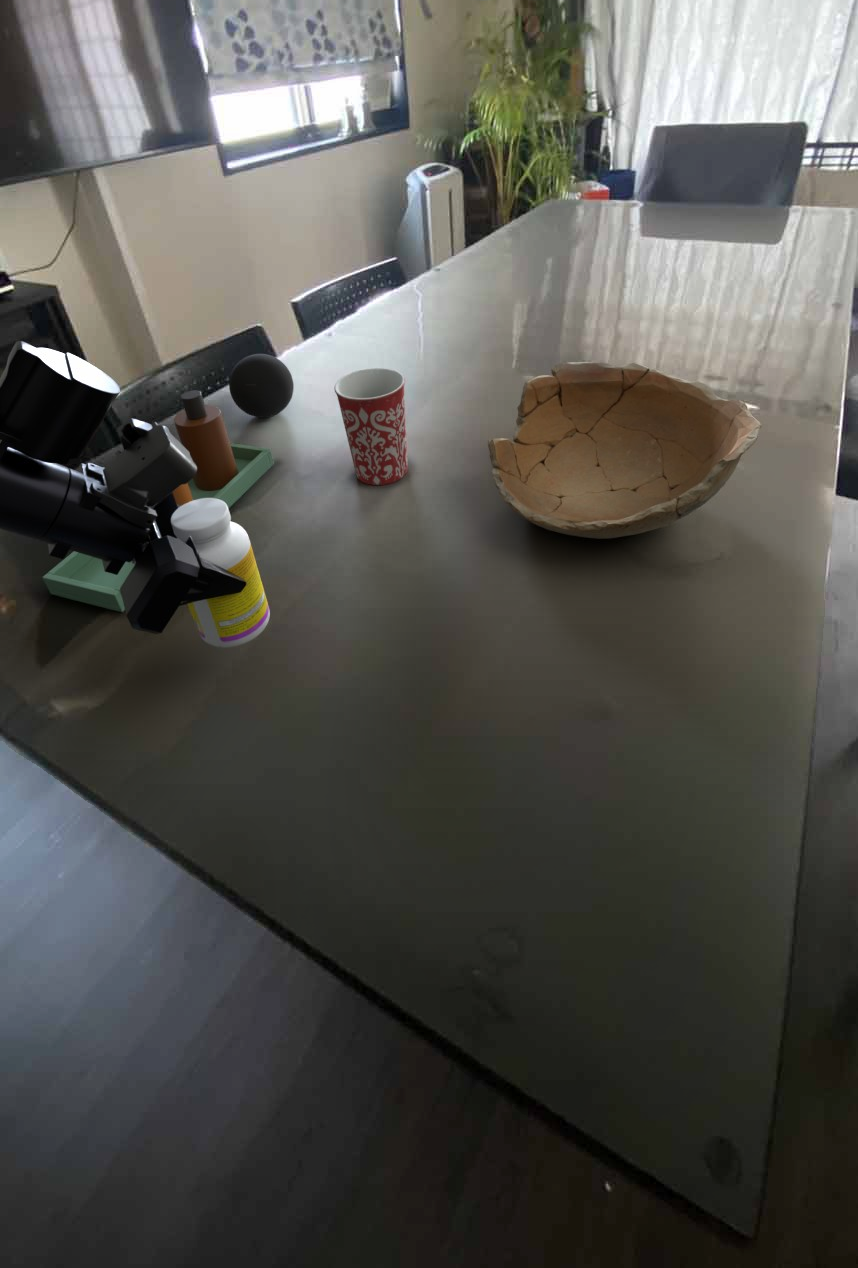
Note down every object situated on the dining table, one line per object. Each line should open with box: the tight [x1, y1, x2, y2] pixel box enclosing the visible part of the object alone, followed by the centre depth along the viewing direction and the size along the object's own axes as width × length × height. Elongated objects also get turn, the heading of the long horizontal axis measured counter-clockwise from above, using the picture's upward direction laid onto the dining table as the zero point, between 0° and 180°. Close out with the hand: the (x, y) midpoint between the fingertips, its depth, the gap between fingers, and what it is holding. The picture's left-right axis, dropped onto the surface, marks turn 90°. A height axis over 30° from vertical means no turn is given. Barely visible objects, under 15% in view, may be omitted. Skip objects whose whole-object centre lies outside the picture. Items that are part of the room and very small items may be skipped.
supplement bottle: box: [171, 498, 271, 649], centre depth 60 cm, size 7×7×13 cm
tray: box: [42, 442, 275, 613], centre depth 88 cm, size 32×11×3 cm, turn 159°
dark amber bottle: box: [173, 389, 238, 491], centre depth 91 cm, size 6×6×13 cm
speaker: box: [228, 353, 295, 418], centre depth 109 cm, size 10×10×10 cm
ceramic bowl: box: [487, 361, 763, 540], centre depth 82 cm, size 30×27×15 cm
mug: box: [333, 367, 409, 486], centre depth 92 cm, size 13×9×14 cm
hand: (233, 565), depth 61 cm, fingers closed on supplement bottle, 6 cm apart
